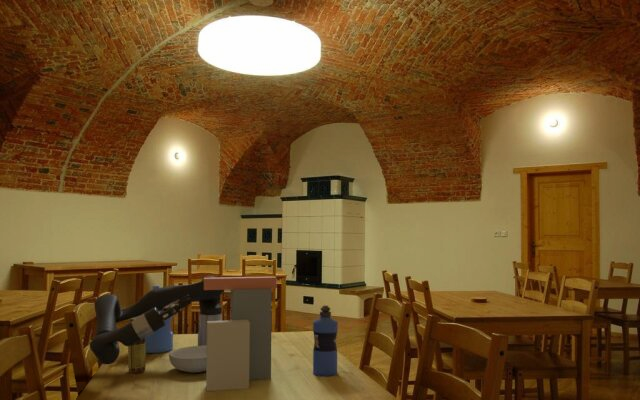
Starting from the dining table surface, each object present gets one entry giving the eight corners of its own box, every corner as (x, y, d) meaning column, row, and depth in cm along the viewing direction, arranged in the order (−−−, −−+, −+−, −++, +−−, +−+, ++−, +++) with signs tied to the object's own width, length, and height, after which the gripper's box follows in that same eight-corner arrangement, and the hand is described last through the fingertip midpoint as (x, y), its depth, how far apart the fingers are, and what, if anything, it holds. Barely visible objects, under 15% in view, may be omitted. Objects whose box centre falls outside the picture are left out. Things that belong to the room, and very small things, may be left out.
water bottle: (334, 369, 207) (334, 303, 209) (340, 376, 198) (340, 307, 200) (310, 370, 205) (310, 304, 207) (315, 377, 196) (315, 308, 198)
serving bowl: (177, 362, 218) (177, 345, 218) (229, 363, 217) (229, 345, 217) (160, 376, 197) (161, 357, 197) (217, 377, 196) (218, 358, 197)
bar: (204, 290, 192) (204, 278, 193) (203, 288, 196) (203, 277, 197) (276, 288, 199) (276, 277, 199) (274, 287, 203) (274, 276, 203)
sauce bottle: (149, 370, 205) (150, 317, 206) (138, 374, 200) (139, 320, 201) (134, 368, 208) (135, 316, 209) (123, 372, 202) (124, 319, 203)
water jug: (153, 355, 229) (154, 289, 230) (128, 351, 237) (129, 286, 238) (180, 348, 242) (181, 285, 243) (156, 344, 250) (157, 283, 252)
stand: (206, 391, 179) (208, 294, 181) (205, 376, 197) (206, 288, 199) (275, 386, 185) (276, 292, 187) (267, 372, 202) (268, 286, 204)
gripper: (141, 317, 182) (184, 291, 186) (144, 310, 196) (184, 287, 200) (152, 336, 183) (195, 310, 187) (155, 328, 197) (195, 304, 200)
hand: (190, 298), depth 193 cm, fingers open, 8 cm apart
